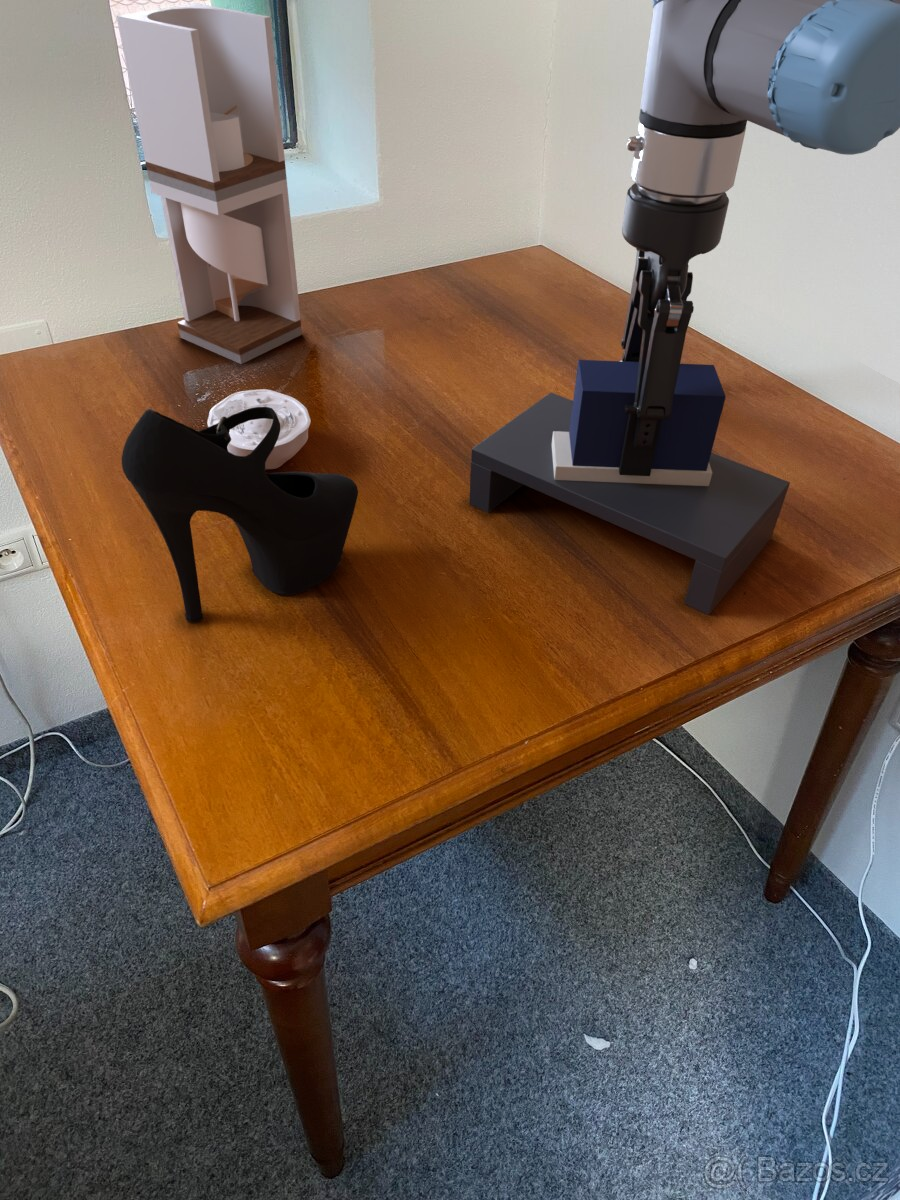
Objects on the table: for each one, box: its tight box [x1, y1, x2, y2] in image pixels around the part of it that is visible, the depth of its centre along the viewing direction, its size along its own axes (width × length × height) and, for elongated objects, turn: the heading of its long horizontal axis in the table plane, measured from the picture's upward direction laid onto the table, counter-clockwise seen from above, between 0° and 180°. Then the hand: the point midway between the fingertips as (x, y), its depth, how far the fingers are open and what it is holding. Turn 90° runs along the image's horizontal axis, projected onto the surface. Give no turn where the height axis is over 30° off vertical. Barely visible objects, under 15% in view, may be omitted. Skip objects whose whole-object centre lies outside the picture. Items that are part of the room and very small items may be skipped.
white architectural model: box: [116, 2, 303, 365], centre depth 102 cm, size 11×11×35 cm
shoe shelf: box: [468, 392, 791, 616], centre depth 84 cm, size 26×14×6 cm, turn 53°
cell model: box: [206, 388, 311, 470], centre depth 91 cm, size 10×12×7 cm
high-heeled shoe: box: [121, 407, 359, 623], centre depth 71 cm, size 8×19×20 cm, turn 130°
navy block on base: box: [552, 359, 726, 486], centre depth 79 cm, size 14×6×9 cm, turn 88°
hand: (630, 452), depth 81 cm, fingers closed on navy block on base, 6 cm apart
